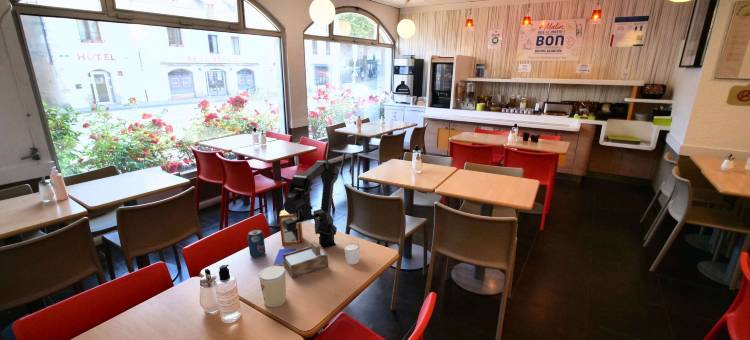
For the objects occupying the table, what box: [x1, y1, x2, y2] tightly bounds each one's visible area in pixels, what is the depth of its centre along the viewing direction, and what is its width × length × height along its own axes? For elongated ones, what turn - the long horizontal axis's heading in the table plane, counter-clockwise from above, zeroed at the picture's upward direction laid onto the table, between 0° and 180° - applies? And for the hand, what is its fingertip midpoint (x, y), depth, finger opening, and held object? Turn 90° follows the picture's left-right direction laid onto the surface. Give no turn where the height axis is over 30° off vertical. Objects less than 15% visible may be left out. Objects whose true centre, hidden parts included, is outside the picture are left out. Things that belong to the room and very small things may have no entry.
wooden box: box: [283, 245, 329, 280], centre depth 149 cm, size 16×11×6 cm
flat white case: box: [285, 241, 326, 266], centre depth 148 cm, size 15×9×5 cm, turn 122°
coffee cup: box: [258, 265, 287, 308], centre depth 127 cm, size 9×9×12 cm
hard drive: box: [272, 248, 298, 266], centre depth 158 cm, size 2×8×12 cm
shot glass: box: [343, 242, 361, 265], centre depth 153 cm, size 7×7×7 cm
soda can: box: [247, 228, 266, 259], centre depth 159 cm, size 7×7×12 cm
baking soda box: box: [278, 209, 304, 246], centre depth 170 cm, size 10×6×16 cm
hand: (307, 237), depth 149 cm, fingers open, 9 cm apart
